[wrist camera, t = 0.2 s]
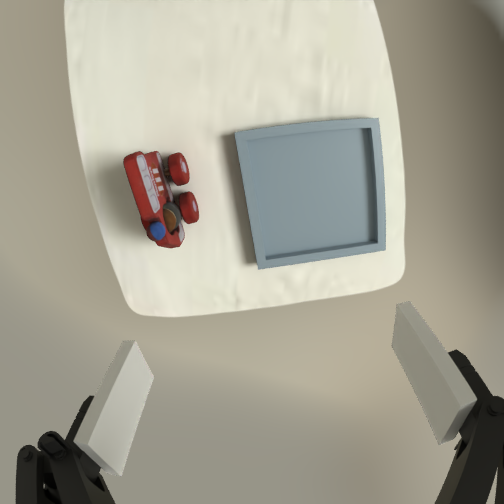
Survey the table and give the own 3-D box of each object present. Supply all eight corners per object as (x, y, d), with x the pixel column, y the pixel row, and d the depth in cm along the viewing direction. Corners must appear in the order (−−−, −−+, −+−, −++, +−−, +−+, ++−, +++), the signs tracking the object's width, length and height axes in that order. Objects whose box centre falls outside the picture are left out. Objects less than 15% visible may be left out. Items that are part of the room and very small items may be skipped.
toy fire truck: (159, 239, 41) (133, 273, 31) (134, 155, 36) (97, 165, 27) (205, 229, 40) (190, 261, 31) (182, 140, 35) (156, 144, 26)
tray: (235, 132, 35) (234, 132, 33) (372, 118, 34) (378, 117, 32) (258, 263, 42) (258, 269, 40) (380, 244, 41) (385, 250, 39)
